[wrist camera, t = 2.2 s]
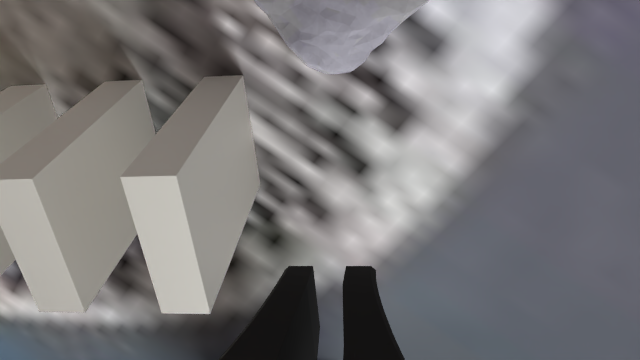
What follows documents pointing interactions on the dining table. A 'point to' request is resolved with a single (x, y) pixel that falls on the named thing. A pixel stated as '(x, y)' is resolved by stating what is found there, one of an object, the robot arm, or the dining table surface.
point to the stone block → (336, 28)
